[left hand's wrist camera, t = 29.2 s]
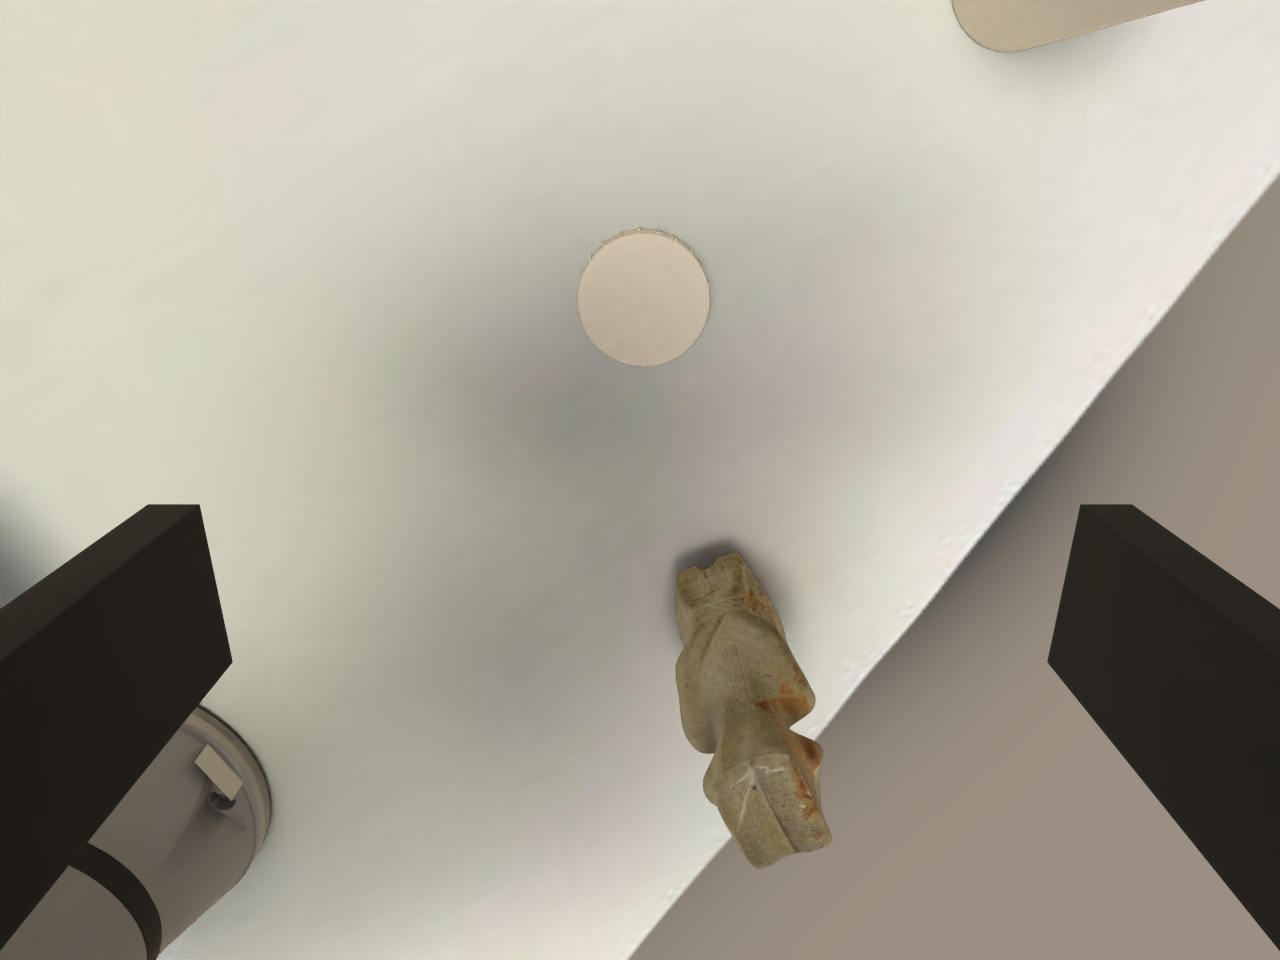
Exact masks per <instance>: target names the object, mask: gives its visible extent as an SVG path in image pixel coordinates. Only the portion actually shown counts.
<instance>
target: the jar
mask: <svg viewBox="0 0 1280 960" xmlns="http://www.w3.org/2000/svg"><path fill="white" fill-rule="evenodd" d="M1200 1H1204V0H952V3H953V7H954V11H955V14H956V16H957V18H958V21H959V23H960V24H961V26H962V28H963V29H964V30H965V32H966V33H967V34H968V35H969V36H970V37H971V38H972V39H973V40H974V41H976V42H977V43H979V44H980V45H982V46H984V47H986V48H988V49H991V50H995V51H1000V52H1016V51H1021V50H1026V49H1029V48H1033V47H1037V46H1040V45H1044V44H1048V43H1051V42H1055V41H1059V40H1062V39H1066V38H1069V37H1073V36H1077V35H1080V34H1084V33H1088V32H1091V31H1095V30H1099V29H1102V28H1106V27H1109V26H1113V25H1117V24H1120V23H1124V22H1128V21H1131V20H1135V19H1138V18H1142V17H1146V16H1149V15H1153V14H1157V13H1160V12H1164V11H1168V10H1171V9H1175V8H1178V7H1182V6H1186V5H1189V4H1193V3H1197V2H1200Z"/></svg>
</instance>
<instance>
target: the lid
mask: <svg viewBox="0 0 1280 960" xmlns="http://www.w3.org/2000/svg"><path fill="white" fill-rule="evenodd" d="M588 260H589V262H588V264H587V266H586V268H585V270H584V271H582V273H581V275H580V278H581V280H580V284H579V288H578V292H577V294H576V297H577V301H578V316H580V320H581V323H582V326H583V328H584V330H585V333H586V334H587V335H588V337H589V339H590V340H591V341H592V342H593V344H594V345H595V346H596V347H597V348H598V349H599V350H600V351H601V352H603V353H604V354H605V355H607V356H608V357H610V358H612V359H614V360H616V361H618V362H620V363H623V364H627V365H630V366H638V367H649V366H656V365H660V364H664V363H667V362H669V361H672V360H673V359H675V358H677V357H679V356H680V355H682V354H683V353H684V352H686V351H687V350H688V349H689V348H690V347H691V346H692V345H693V344H694V342H695V341H696V340H697V339H698V337H699V335H700V334H701V332H702V330H703V328H704V326H705V325H706V320H707V317H708V312H709V306H710V305H711V304H710V295H709V287H710V285H709V283H708V281H707V279H706V277H705V274H704V272H703V270H702V269H704V267H703V265H702V264H701V262H698V260H697V259H696V257H695V256H694V254H693V251H692V249H691V248H690V247H689V248H688V247H687V246H686V245H684V244H683V243H682V242H681V241H679V240H678V239H677V237H676V236H675V235H674V237H673V236H671V235H669V234H666V233H664V232H660V231H659V229H656V230H650V229H640V227H639V228H638V229H637V230H630V231H627V232H623V233H622V231H621V232H619V234H618V235H616V236H614V237H612V238H611V239H609V240H608V241H603V243H602V245H601V246H600V247H599V248H598V249H597V250H596V252H595V253H594V254H593V255H592V254H591V255H590V257H589V259H588Z"/></svg>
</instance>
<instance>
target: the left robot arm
mask: <svg viewBox="0 0 1280 960" xmlns="http://www.w3.org/2000/svg"><path fill="white" fill-rule="evenodd" d="M231 663H232V657H231V652H230V647H229V643H228V638H227V633H226V628H225V624H224V619H223V614H222V609H221V605H220V600H219V595H218V590H217V586H216V581H215V576H214V571H213V567H212V562H211V557H210V552H209V547H208V543H207V538H206V533H205V528H204V524H203V519H202V514H201V509H200V505H147V506H145V507H144V508H142V509H141V510H140V511H138V512H137V513H135V514H134V515H133V516H131V517H130V518H128V519H127V520H126V521H124V522H123V523H121V524H120V525H118V526H117V527H116V528H114V529H113V530H111V531H110V532H109V533H107V534H106V535H104V536H103V537H102V538H100V539H99V540H97V541H96V542H95V543H93V544H92V545H90V546H89V547H87V548H86V549H85V550H83V551H82V552H80V553H79V554H78V555H76V556H75V557H73V558H72V559H71V560H69V561H68V562H66V563H65V564H63V565H62V566H61V567H59V568H58V569H56V570H55V571H54V572H52V573H51V574H49V575H48V576H47V577H45V578H44V579H42V580H41V581H40V582H38V583H37V584H35V585H34V586H32V587H31V588H30V589H28V590H27V591H25V592H24V593H23V594H21V595H20V596H18V597H17V598H16V599H14V600H13V601H11V602H10V603H9V604H7V605H6V606H4V607H3V608H1V609H0V960H156V958H157V957H158V955H159V954H160V953H161V951H162V950H164V949H165V948H166V947H167V946H168V945H169V944H170V943H171V942H172V941H174V940H175V939H176V938H177V937H178V936H179V935H180V934H181V933H182V932H183V931H185V930H186V929H187V928H188V927H189V926H190V925H191V924H192V923H193V922H195V921H196V920H197V919H198V918H199V917H200V916H201V915H202V914H203V913H204V912H206V911H207V910H208V909H209V908H210V907H211V906H212V905H213V904H214V903H216V902H217V901H218V900H219V899H220V898H221V897H222V896H223V895H224V894H225V893H227V892H228V891H229V890H230V889H231V888H232V887H233V886H234V885H236V884H237V883H238V882H239V880H240V879H241V878H242V877H243V875H244V874H245V872H246V871H247V869H248V868H249V866H250V864H251V862H252V860H253V859H254V857H255V855H256V853H257V851H258V850H259V848H260V846H261V844H262V842H263V840H264V838H265V835H266V832H267V829H268V826H269V820H270V799H269V793H268V789H267V785H266V782H265V779H264V776H263V774H262V772H261V770H260V768H259V766H258V764H257V762H256V761H255V759H254V757H253V756H252V755H251V753H250V752H249V750H248V749H247V748H246V746H245V745H244V744H243V743H242V742H241V741H240V740H239V739H238V737H237V736H236V735H234V734H233V733H232V732H231V731H230V730H229V729H228V728H227V727H226V726H225V725H223V724H222V723H221V722H219V721H218V720H217V719H216V718H214V717H213V716H211V715H210V714H208V713H207V712H205V711H203V710H202V709H200V708H198V707H197V706H198V704H199V703H200V702H201V701H202V699H203V698H204V697H205V696H206V695H207V693H208V692H209V691H210V690H211V688H212V687H213V686H214V685H215V683H216V682H217V681H218V680H219V678H220V677H221V676H222V675H223V673H224V672H225V671H226V670H227V668H228V667H229V666H230V665H231ZM1048 663H1049V665H1050V666H1051V667H1052V668H1053V670H1054V671H1055V672H1056V673H1057V675H1058V676H1059V677H1060V678H1061V680H1062V681H1063V682H1064V683H1065V685H1066V686H1067V687H1068V688H1069V690H1070V691H1071V692H1072V693H1073V695H1074V696H1075V697H1076V698H1077V699H1078V701H1079V702H1080V703H1081V704H1082V706H1083V707H1084V708H1085V709H1086V711H1087V712H1088V713H1089V714H1090V716H1091V717H1092V718H1093V719H1094V721H1095V722H1096V723H1097V724H1098V726H1099V727H1100V728H1101V729H1102V731H1103V732H1104V733H1105V734H1106V736H1107V737H1108V738H1109V739H1110V740H1111V742H1112V743H1113V744H1114V745H1115V747H1116V748H1117V749H1118V750H1119V752H1120V753H1121V754H1122V755H1123V757H1124V758H1125V759H1126V760H1127V762H1128V763H1129V764H1130V765H1131V767H1132V768H1133V769H1134V770H1135V772H1136V773H1137V774H1138V775H1139V777H1140V778H1141V779H1142V780H1143V782H1144V783H1145V784H1146V785H1147V787H1148V788H1149V789H1150V790H1151V791H1152V793H1153V794H1154V795H1155V796H1156V798H1157V799H1158V800H1159V801H1160V803H1161V804H1162V805H1163V806H1164V808H1165V809H1166V810H1167V811H1168V813H1169V814H1170V815H1171V816H1172V818H1173V819H1174V820H1175V821H1176V823H1177V824H1178V825H1179V826H1180V828H1181V829H1182V830H1183V831H1184V832H1185V834H1186V835H1187V836H1188V837H1189V839H1190V840H1191V841H1192V842H1193V844H1194V845H1195V846H1196V847H1197V849H1198V850H1199V851H1200V852H1201V854H1202V855H1203V856H1204V857H1205V859H1206V860H1207V861H1208V862H1209V863H1210V865H1211V866H1212V867H1213V869H1214V870H1215V871H1216V872H1217V874H1218V875H1219V876H1220V877H1221V878H1222V880H1223V881H1224V882H1225V883H1226V885H1227V886H1228V887H1229V888H1230V890H1231V891H1232V892H1233V893H1234V895H1235V896H1236V897H1237V898H1238V900H1239V901H1240V902H1241V903H1242V905H1243V906H1244V907H1245V908H1246V910H1247V911H1248V912H1249V913H1250V915H1251V916H1252V917H1253V918H1254V920H1255V921H1256V922H1257V923H1258V924H1259V926H1260V927H1261V928H1262V929H1263V931H1264V932H1265V933H1266V934H1267V936H1268V937H1269V938H1270V939H1271V941H1272V942H1273V943H1274V944H1275V945H1276V947H1277V948H1278V949H1279V951H1280V609H1278V608H1277V607H1276V606H1274V605H1273V604H1271V603H1270V602H1269V601H1267V600H1266V599H1264V598H1263V597H1262V596H1260V595H1259V594H1257V593H1256V592H1255V591H1253V590H1252V589H1250V588H1249V587H1247V586H1246V585H1245V584H1243V583H1242V582H1240V581H1239V580H1238V579H1236V578H1235V577H1233V576H1232V575H1231V574H1229V573H1228V572H1226V571H1225V570H1224V569H1222V568H1221V567H1219V566H1218V565H1216V564H1215V563H1214V562H1212V561H1211V560H1209V559H1208V558H1207V557H1205V556H1204V555H1202V554H1201V553H1200V552H1198V551H1197V550H1195V549H1194V548H1193V547H1191V546H1190V545H1188V544H1187V543H1185V542H1184V541H1183V540H1181V539H1180V538H1178V537H1177V536H1176V535H1174V534H1173V533H1171V532H1170V531H1169V530H1167V529H1166V528H1164V527H1163V526H1162V525H1160V524H1159V523H1157V522H1156V521H1154V520H1153V519H1152V518H1150V517H1149V516H1147V515H1146V514H1145V513H1143V512H1142V511H1140V510H1139V509H1138V508H1136V507H1135V506H1133V505H1080V509H1079V514H1078V519H1077V524H1076V529H1075V533H1074V538H1073V543H1072V547H1071V552H1070V557H1069V562H1068V566H1067V571H1066V576H1065V581H1064V586H1063V590H1062V595H1061V600H1060V605H1059V609H1058V614H1057V619H1056V624H1055V628H1054V633H1053V638H1052V643H1051V647H1050V652H1049V657H1048Z"/></svg>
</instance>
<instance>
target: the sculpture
mask: <svg viewBox="0 0 1280 960" xmlns="http://www.w3.org/2000/svg"><path fill="white" fill-rule="evenodd" d="M677 581H678V584H677V586H676V616H677V623H678V629H679V633H680V637H681V640H682V642H683V645H684V649H683V651H682V652H681V654H680V656H679V658H678V660H677V663H676V682H677V688H678V694H679V702H680V712H681V720H682V726H683V730H684V733H685V735H686V737H687V739H688V741H689V742H690V743H691V745H692V746H693V747H694V748H695V749H696V750H698V751H699V752H701V753H706V754H712V753H715V754H714V757H713V759H712V761H711V763H710V765H709V767H708V769H707V771H706V773H705V776H704V779H703V789H704V793H705V795H706V797H707V799H708V800H709V801H710V802H711V803H712V804H714V805H716V806H717V807H718V810H719V812H720V814H721V816H722V818H723V820H724V823H725V824H726V826H727V828H728V829H729V831H730V833H731V834H732V836H733V837H734V839H735V841H736V843H737V845H738V847H739V849H740V851H741V852H742V854H743V855H744V857H745V858H746V859H747V861H748V862H749V863H750V864H752V865H753V866H754V867H756V868H758V869H761V868H765V867H768V866H771V865H774V864H776V863H777V862H779V861H780V860H781V859H783V858H784V857H786V856H788V855H791V854H794V853H802V852H811V851H815V850H819V849H822V848H825V847H827V846H829V845H830V844H831V843H832V836H831V833H830V830H829V828H828V826H827V823H826V821H825V819H824V816H823V813H822V807H821V798H820V768H821V766H822V763H823V758H824V753H823V749H822V747H821V746H820V745H819V744H818V743H817V742H815V741H813V740H811V739H809V738H807V737H804V736H802V735H799V734H797V733H795V732H793V731H792V730H790V729H789V728H790V727H791V726H792V725H793V724H794V723H796V722H797V721H799V720H800V719H802V718H803V717H805V716H806V715H807V714H809V713H810V712H811V711H812V709H813V708H814V706H815V695H814V693H813V691H812V689H811V687H810V685H809V683H808V681H807V679H806V678H805V676H804V674H803V672H802V670H801V669H800V667H799V665H798V664H797V662H796V660H795V658H794V657H793V655H792V653H791V651H790V649H789V647H788V644H787V642H786V637H785V633H784V629H783V626H782V623H781V621H780V618H779V616H778V614H777V612H776V610H775V609H774V607H773V605H772V604H771V602H770V600H769V599H768V597H767V595H766V594H765V592H764V591H763V589H762V588H761V586H760V585H759V583H758V582H757V580H756V579H755V578H754V576H753V574H752V573H751V571H750V569H749V568H748V566H747V565H746V563H745V562H744V560H743V559H742V557H741V556H740V555H739V554H738V553H731V554H728V555H724V556H721V557H718V558H717V559H716V560H715V562H714V564H713V565H712V566H711V567H709V568H707V569H700V568H699V567H698V566H693V567H691V568H688V569H686V570H684V571H682V572H681V573H679V574H678V576H677Z"/></svg>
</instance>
